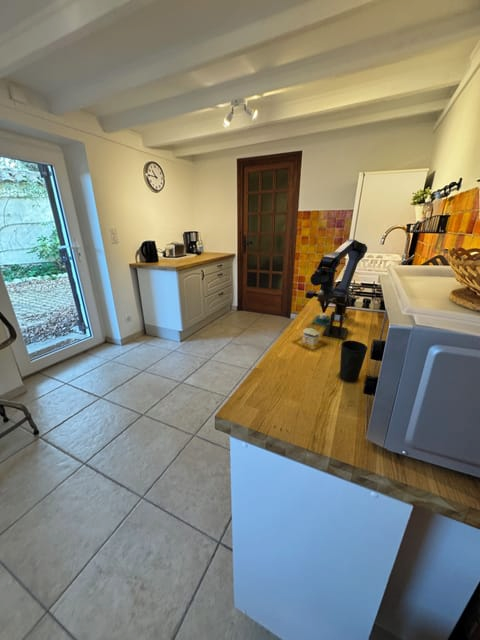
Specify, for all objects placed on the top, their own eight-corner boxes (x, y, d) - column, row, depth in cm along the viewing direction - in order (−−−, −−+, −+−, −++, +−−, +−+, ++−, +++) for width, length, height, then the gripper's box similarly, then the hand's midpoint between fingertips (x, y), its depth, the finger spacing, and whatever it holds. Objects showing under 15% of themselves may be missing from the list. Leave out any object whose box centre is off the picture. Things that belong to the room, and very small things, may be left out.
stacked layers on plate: (325, 344, 108) (327, 332, 106) (312, 350, 102) (314, 338, 100) (306, 336, 115) (307, 325, 113) (293, 342, 110) (294, 330, 108)
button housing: (316, 318, 136) (317, 312, 135) (332, 320, 132) (333, 315, 131) (312, 324, 128) (312, 319, 126) (328, 327, 124) (329, 321, 123)
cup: (356, 371, 88) (362, 340, 84) (364, 384, 81) (371, 352, 77) (334, 370, 89) (338, 339, 85) (339, 383, 82) (345, 351, 78)
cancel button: (320, 316, 131) (320, 313, 130) (327, 317, 130) (327, 314, 129) (318, 318, 128) (319, 315, 128) (326, 319, 127) (326, 316, 126)
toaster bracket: (327, 327, 124) (330, 308, 121) (347, 330, 120) (350, 311, 117) (322, 336, 114) (324, 316, 111) (343, 340, 110) (346, 320, 107)
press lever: (335, 321, 125) (337, 314, 125) (342, 322, 124) (343, 315, 124) (332, 320, 114) (334, 313, 114) (340, 321, 112) (341, 314, 112)
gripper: (303, 283, 120) (301, 314, 125) (345, 288, 111) (340, 321, 117) (309, 279, 129) (307, 308, 135) (349, 283, 120) (344, 313, 126)
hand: (323, 312), depth 128 cm, fingers closed
